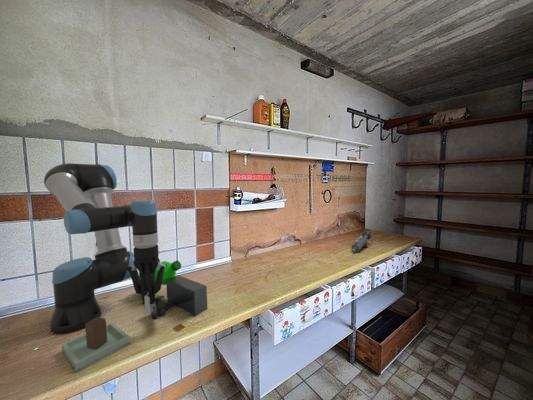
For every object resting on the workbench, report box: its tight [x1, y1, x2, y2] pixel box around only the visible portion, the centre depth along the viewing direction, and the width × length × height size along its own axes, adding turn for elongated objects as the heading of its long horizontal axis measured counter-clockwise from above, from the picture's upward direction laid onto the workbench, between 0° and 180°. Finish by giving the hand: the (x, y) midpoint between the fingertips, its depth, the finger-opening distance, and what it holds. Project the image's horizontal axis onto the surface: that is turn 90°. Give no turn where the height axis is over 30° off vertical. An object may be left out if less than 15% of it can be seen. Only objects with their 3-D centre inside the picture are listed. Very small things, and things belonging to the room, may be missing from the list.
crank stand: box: [150, 275, 208, 332], centre depth 93 cm, size 23×16×10 cm
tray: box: [61, 321, 131, 373], centre depth 73 cm, size 14×14×2 cm
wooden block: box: [84, 317, 107, 349], centre depth 74 cm, size 4×4×8 cm
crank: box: [153, 295, 167, 320], centre depth 87 cm, size 15×5×7 cm, turn 32°
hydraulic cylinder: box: [351, 231, 373, 253], centre depth 177 cm, size 7×37×10 cm, turn 140°
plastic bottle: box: [139, 260, 182, 296], centre depth 107 cm, size 10×10×25 cm
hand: (149, 312), depth 80 cm, fingers closed
